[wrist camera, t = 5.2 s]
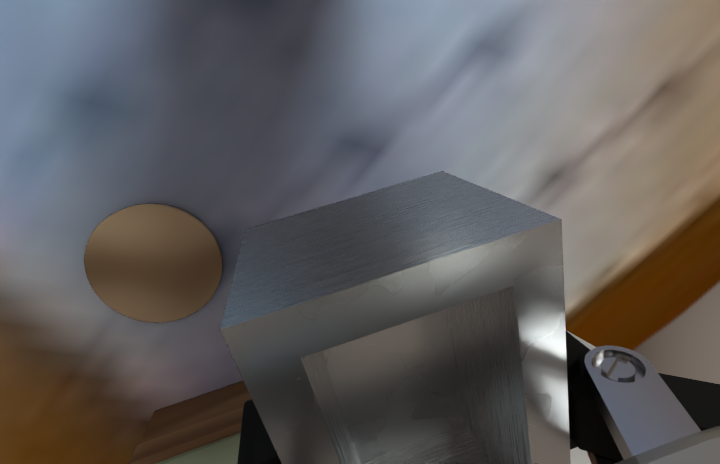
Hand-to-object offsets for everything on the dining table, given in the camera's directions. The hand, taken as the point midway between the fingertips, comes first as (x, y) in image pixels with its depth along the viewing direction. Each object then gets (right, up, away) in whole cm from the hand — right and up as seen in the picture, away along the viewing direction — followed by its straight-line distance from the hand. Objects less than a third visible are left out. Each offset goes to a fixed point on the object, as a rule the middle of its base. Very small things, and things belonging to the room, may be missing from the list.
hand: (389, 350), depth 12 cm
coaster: (-12, +2, +9) cm, 16 cm away
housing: (0, 0, +1) cm, 1 cm away
